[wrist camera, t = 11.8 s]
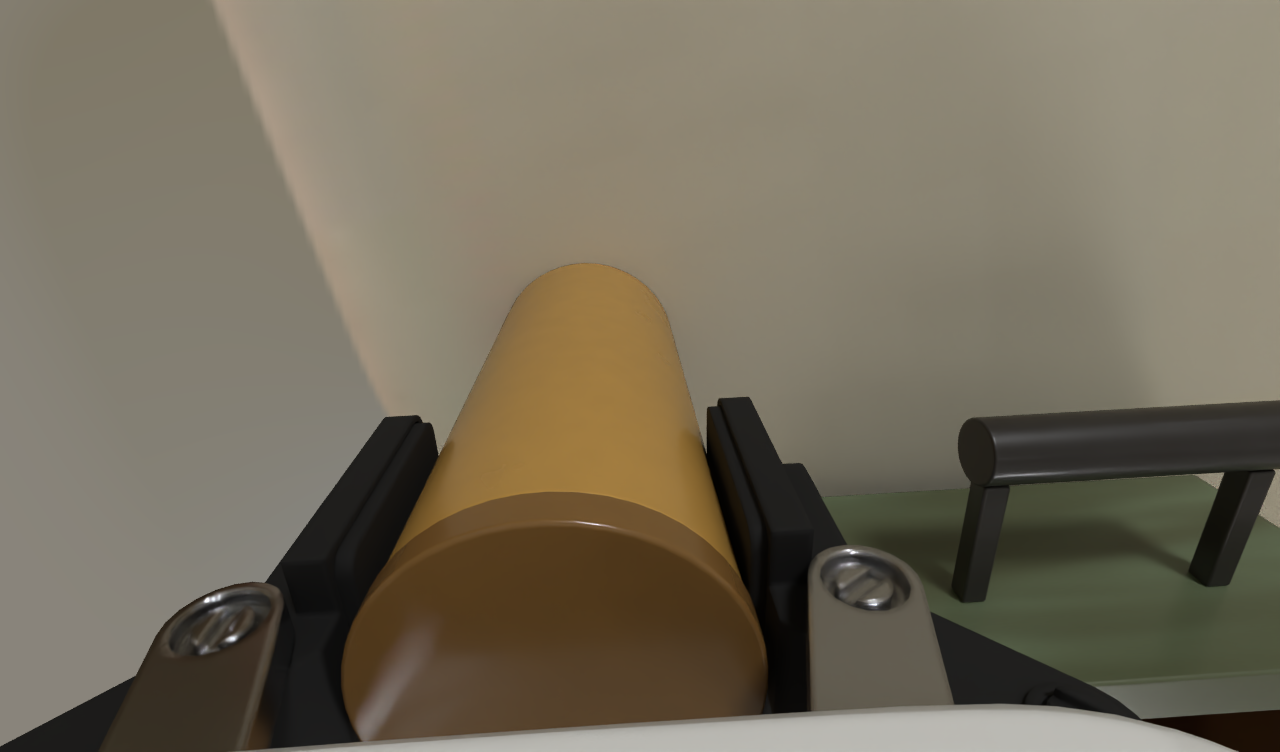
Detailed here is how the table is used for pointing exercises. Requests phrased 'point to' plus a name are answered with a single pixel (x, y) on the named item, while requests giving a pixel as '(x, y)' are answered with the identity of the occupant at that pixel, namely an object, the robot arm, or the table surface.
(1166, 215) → the table surface
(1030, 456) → the drawer
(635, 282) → the tin
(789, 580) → the robot arm
